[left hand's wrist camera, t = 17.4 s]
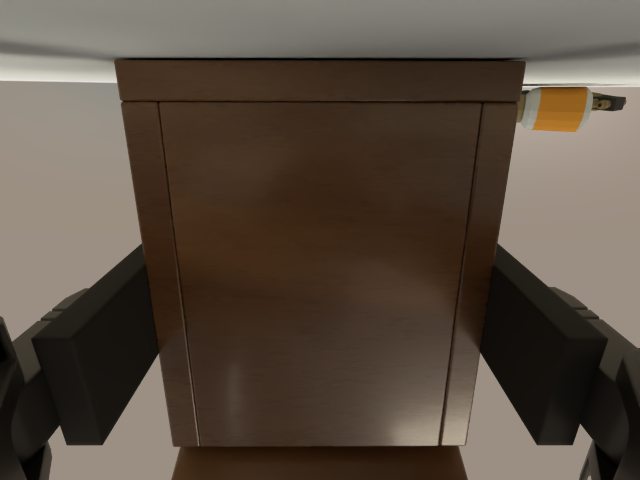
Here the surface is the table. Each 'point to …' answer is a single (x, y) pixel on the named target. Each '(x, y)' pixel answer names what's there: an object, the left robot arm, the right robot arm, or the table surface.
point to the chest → (319, 242)
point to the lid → (320, 463)
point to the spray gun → (562, 107)
